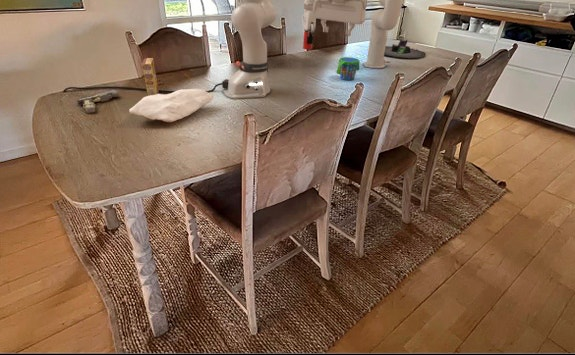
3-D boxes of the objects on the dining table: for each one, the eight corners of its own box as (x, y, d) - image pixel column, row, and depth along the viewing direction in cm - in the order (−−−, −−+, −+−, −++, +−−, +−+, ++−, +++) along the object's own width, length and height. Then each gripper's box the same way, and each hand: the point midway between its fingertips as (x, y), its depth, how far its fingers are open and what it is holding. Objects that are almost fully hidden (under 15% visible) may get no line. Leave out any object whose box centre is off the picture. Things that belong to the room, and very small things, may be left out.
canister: (312, 49, 205) (313, 33, 201) (303, 49, 205) (304, 33, 200) (311, 47, 210) (312, 31, 205) (302, 47, 209) (303, 31, 205)
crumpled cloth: (117, 110, 146) (113, 90, 140) (195, 92, 166) (194, 73, 160) (143, 139, 134) (140, 118, 128) (223, 116, 154) (224, 96, 148)
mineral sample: (436, 54, 249) (439, 40, 244) (402, 60, 231) (404, 45, 227) (396, 47, 273) (398, 34, 269) (363, 52, 256) (364, 38, 252)
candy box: (157, 97, 164) (152, 63, 155) (147, 98, 163) (141, 63, 155) (158, 91, 171) (153, 57, 163) (149, 91, 170) (143, 58, 162)
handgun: (128, 97, 156) (111, 87, 164) (86, 107, 144) (70, 97, 152) (129, 103, 157) (113, 94, 165) (88, 114, 146) (72, 103, 154)
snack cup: (351, 73, 205) (353, 55, 200) (364, 79, 198) (367, 60, 193) (329, 77, 198) (331, 58, 192) (342, 83, 191) (344, 63, 185)
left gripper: (371, -5, 128) (365, 36, 136) (320, -10, 137) (317, 29, 145) (364, -4, 124) (358, 39, 131) (312, -9, 133) (309, 31, 140)
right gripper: (300, 5, 202) (298, 39, 212) (308, 9, 188) (305, 46, 198) (313, 5, 204) (310, 39, 213) (322, 10, 190) (318, 46, 199)
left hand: (336, 33), depth 138 cm, fingers open, 8 cm apart
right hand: (308, 42), depth 205 cm, fingers closed on canister, 5 cm apart
